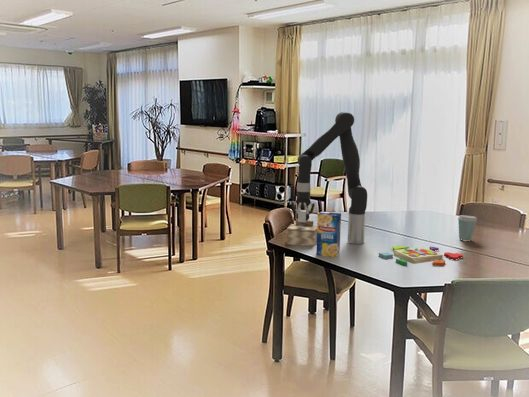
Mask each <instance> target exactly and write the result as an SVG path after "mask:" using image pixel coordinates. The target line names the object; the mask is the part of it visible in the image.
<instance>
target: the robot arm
mask: <svg viewBox="0 0 529 397" xmlns="http://www.w3.org/2000/svg"><path fill="white" fill-rule="evenodd" d="M354 124H355V116H354V115H353V114H352V113H350V112H348V111H347V112H346V111H341V112H339V113H337V114H336V116H335V123H334V124H333V125H332V126H331V128H329V129H328V130H327V131H326V132H325V133H323V134H322V135H321V136H319V138H317V139H316V140H315V141H314V142H313V143H312V144H311V145H310V146H309V147H308V149H306V150H304V151H303V152H302V153H301V154H300V155H299V156H298V157H297V163H298V166H299V167H298V168H299V169H298V174H297V185H296V200H295V201H294V200H292V201H291V203H290V204H291V208H292V212H293V213H296V220H298V211H299V210H302V209H304V210H306V212H307V214H306V221H308V220H310V214H312V213H314V209H315V206H316V202H313V201H311V171H312V167H313V166H312V164H313V163H312V162H313V160H314V159H316V158H317V157H319V156H320V155H322V153H323V152H325V151H326V149H327V148H328V147H329V146H330V145H331V144H332V143H333V142H334V141H335V140H336V139H337V138H338V137H339V142H340V152H341V157H342V158H341V159H342V162H343V167H344V172H345V175H346V181H347V183H346V185H347V194H348V196H349V198H350V207H349V208H348V221H347V222H348V223H347V243H349V244H353V245H363V244H364V243H365V229H366V226H365V223H366V220H365V219H366V210H367V206H368V190H367V188H365V187H364V186H362V183H361V179H360V166H361V165H360V164H361V161H360V160H361V159H360V155H359V150H358V146H357V144H356V142H355V140H354V136H353V132H352V127H353V126H354ZM296 205H297V208H296ZM309 206H310V207H311V208H309Z"/></svg>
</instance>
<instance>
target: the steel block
mask: <svg viewBox="0 0 529 397" xmlns="http://www.w3.org/2000/svg"><path fill="white" fill-rule="evenodd" d="M306 214H307V212H306V210H305V209H300V210H299V211H298V222H307V221H306Z"/></svg>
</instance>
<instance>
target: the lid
mask: <svg viewBox="0 0 529 397" xmlns="http://www.w3.org/2000/svg"><path fill="white" fill-rule="evenodd" d="M287 230H297V231H309V232H315V231H316V230H317V225H314V220H310V219H309V220H308V221H307V222H298V220H297V219H295V223H291V224H290V225H288V227H287V228H286V231H287Z"/></svg>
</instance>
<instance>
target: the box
mask: <svg viewBox="0 0 529 397" xmlns="http://www.w3.org/2000/svg"><path fill="white" fill-rule="evenodd" d="M285 244H286V245H294V246H295V245H296V246H304V245H307V247H315V246H316V245H317V230H316V231H315V232H309V231H297V230H287V229H286V243H285ZM315 244H316V245H315Z"/></svg>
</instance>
